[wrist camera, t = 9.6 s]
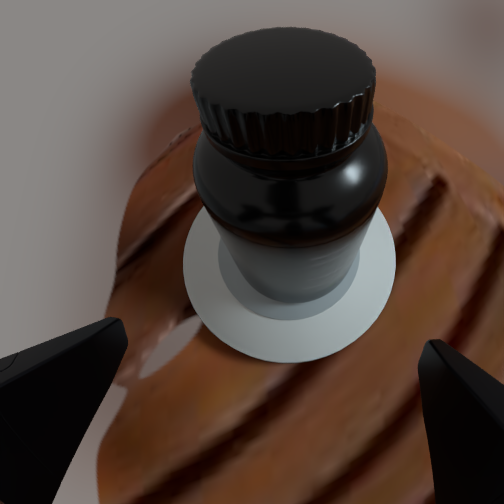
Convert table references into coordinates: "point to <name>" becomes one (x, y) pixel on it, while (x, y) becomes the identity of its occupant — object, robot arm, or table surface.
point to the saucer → (286, 314)
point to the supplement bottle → (289, 156)
